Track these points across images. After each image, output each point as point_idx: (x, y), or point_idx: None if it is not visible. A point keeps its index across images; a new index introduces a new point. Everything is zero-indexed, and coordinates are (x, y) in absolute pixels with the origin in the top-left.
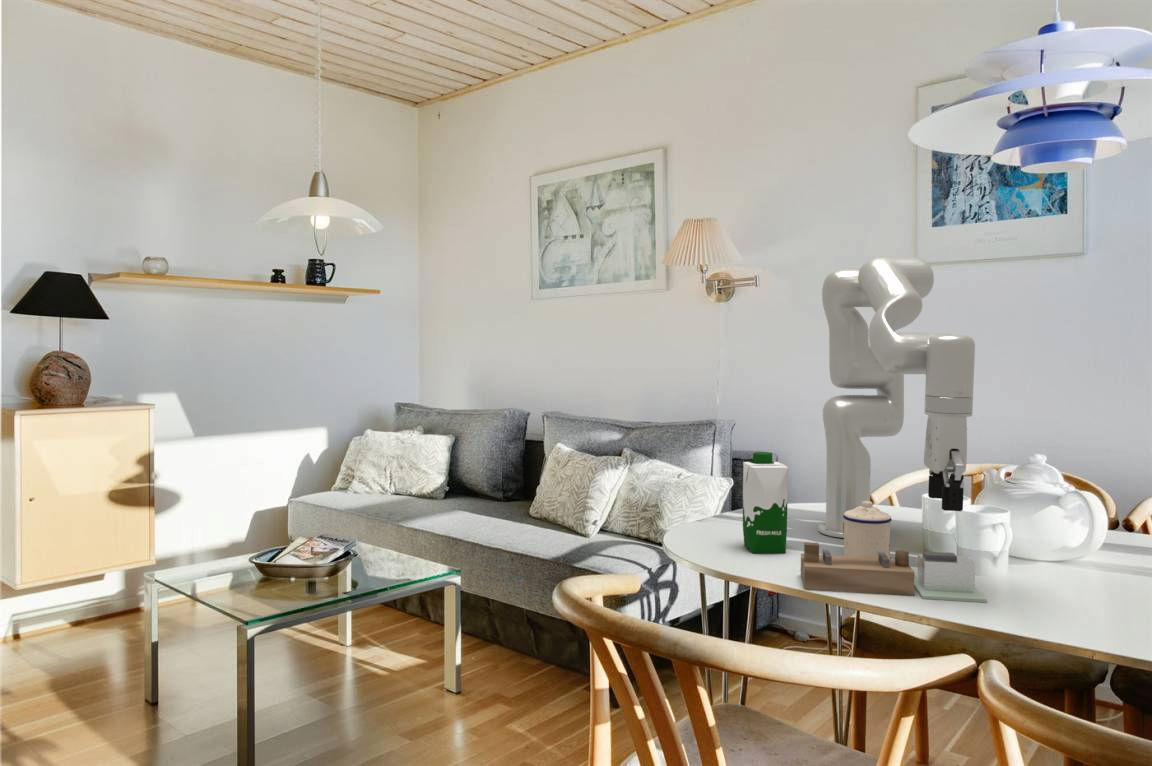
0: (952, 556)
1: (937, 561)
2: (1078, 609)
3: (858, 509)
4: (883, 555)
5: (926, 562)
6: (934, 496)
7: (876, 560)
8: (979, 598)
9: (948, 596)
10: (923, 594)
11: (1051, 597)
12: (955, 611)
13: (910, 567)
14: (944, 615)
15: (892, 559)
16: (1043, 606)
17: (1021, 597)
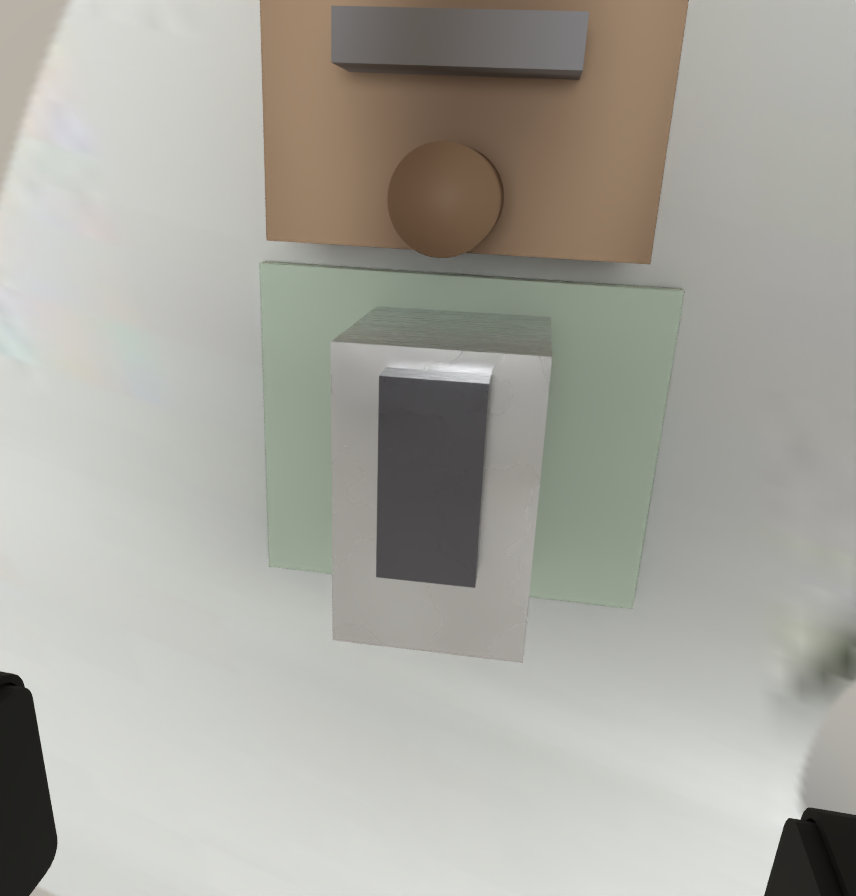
0: (377, 549)
1: (341, 430)
2: (267, 849)
3: None
4: (461, 34)
5: (331, 352)
6: (777, 877)
7: (578, 7)
8: (278, 540)
9: (279, 402)
10: (287, 276)
11: (414, 837)
12: (98, 368)
13: (396, 247)
14: (19, 294)
15: (625, 163)
16: (276, 754)
17: (392, 731)
